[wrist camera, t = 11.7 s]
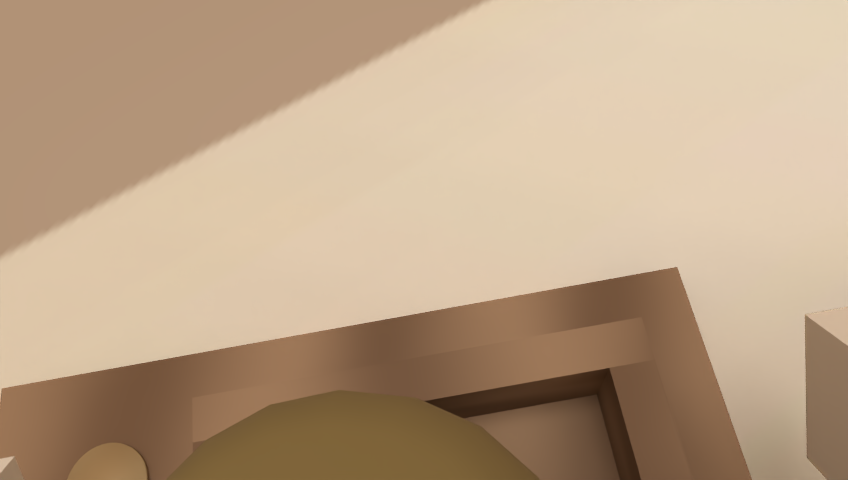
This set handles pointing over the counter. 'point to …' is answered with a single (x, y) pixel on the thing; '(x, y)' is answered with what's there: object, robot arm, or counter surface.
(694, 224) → the counter surface
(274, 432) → the cork
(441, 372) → the walnut holder
